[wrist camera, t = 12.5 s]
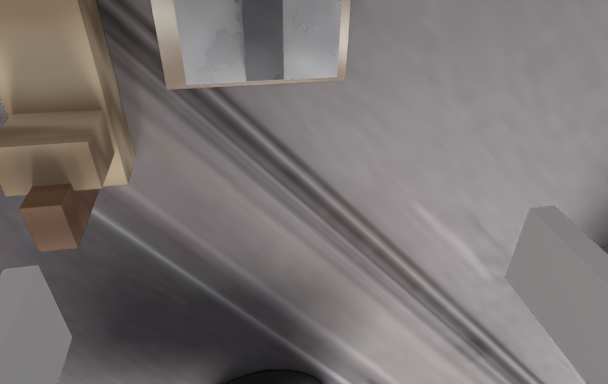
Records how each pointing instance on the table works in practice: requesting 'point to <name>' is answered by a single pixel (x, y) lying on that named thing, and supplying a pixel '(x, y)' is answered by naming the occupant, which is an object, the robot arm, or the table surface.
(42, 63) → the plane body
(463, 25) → the table surface
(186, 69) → the white block with stub
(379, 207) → the table surface
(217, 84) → the ash board
